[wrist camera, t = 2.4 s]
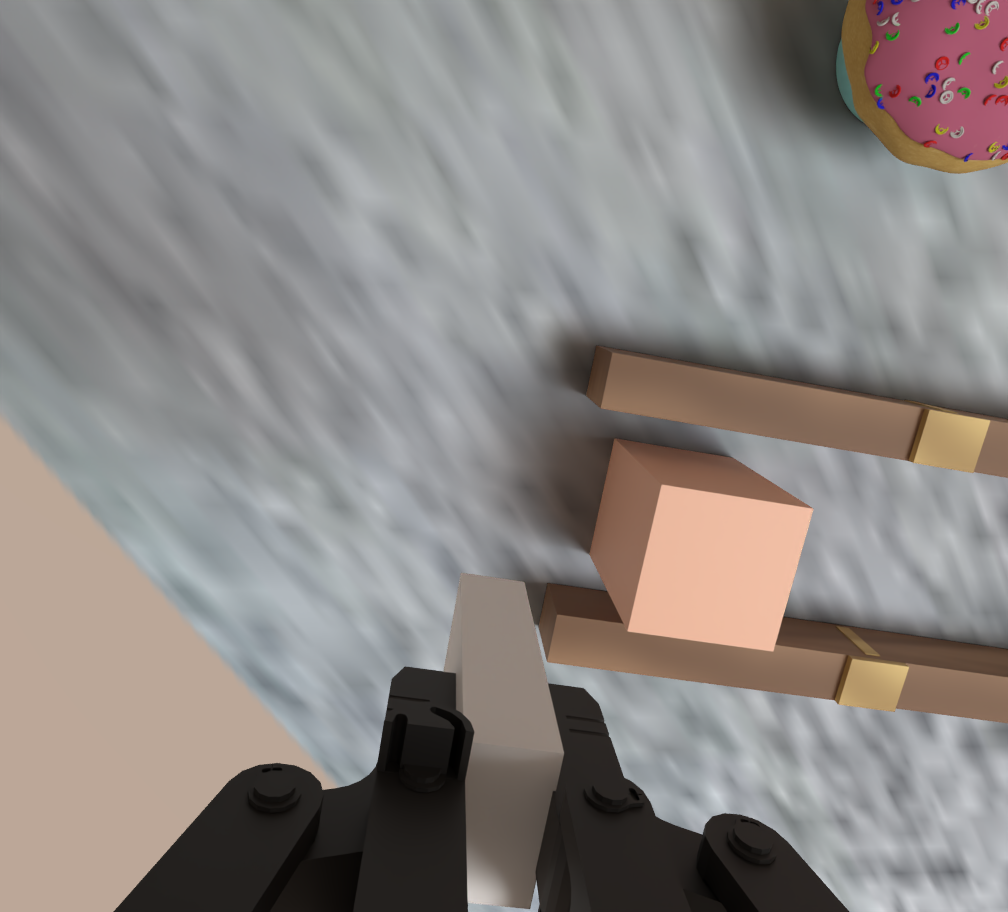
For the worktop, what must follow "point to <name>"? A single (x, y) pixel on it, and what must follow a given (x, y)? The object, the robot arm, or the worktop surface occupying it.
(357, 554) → the worktop surface
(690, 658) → the slotted beam
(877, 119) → the cupcake
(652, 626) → the block
